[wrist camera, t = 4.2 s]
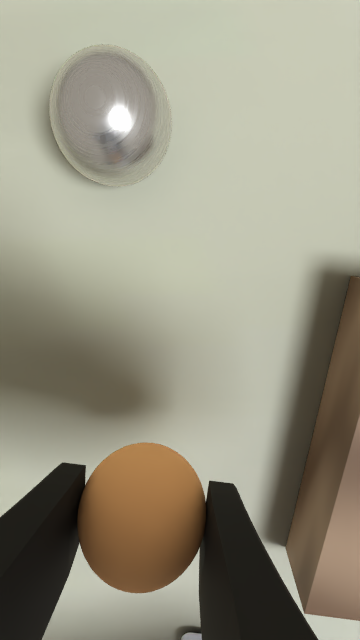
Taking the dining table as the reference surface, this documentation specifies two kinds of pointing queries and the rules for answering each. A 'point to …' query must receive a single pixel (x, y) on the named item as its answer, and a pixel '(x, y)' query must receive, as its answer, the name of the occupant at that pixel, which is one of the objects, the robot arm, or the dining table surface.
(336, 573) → the hole plate
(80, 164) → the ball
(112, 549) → the ball
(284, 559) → the dining table surface
